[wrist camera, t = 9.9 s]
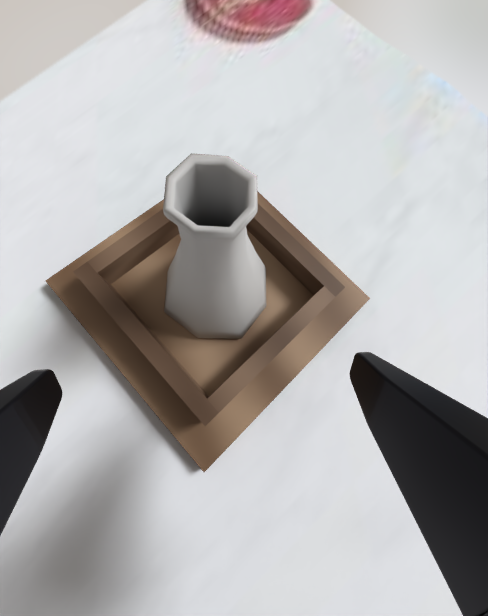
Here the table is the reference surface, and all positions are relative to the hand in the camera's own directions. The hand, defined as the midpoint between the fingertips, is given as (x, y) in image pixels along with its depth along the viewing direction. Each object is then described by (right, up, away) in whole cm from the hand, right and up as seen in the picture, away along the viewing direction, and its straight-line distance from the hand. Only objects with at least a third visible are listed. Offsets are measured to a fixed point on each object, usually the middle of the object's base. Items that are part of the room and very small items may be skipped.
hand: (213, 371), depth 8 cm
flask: (-1, +3, +10) cm, 11 cm away
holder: (-1, +3, +11) cm, 11 cm away
